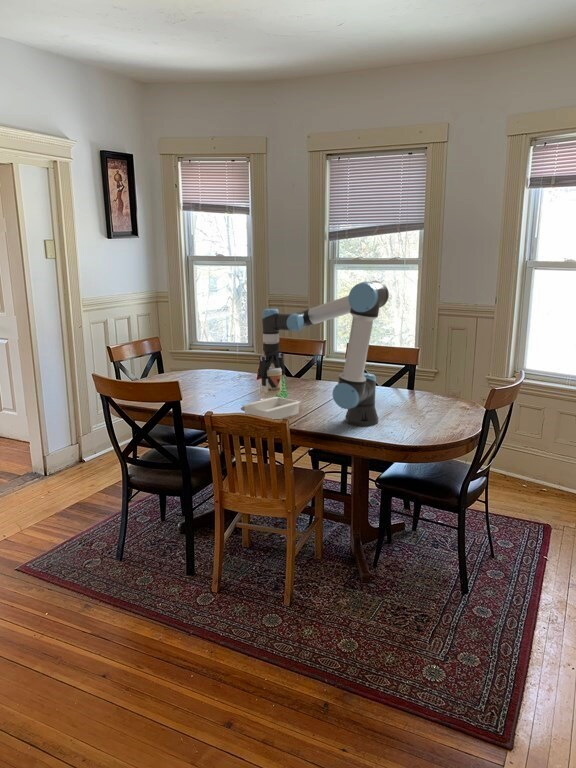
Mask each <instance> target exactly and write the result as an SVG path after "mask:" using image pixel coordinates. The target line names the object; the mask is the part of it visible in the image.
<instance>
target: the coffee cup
mask: <svg viewBox="0 0 576 768" xmlns="http://www.w3.org/2000/svg"><path fill="white" fill-rule="evenodd" d="M282 371H283V370H282V369H281V368H275V366H270V367H269V370H267V378H266V379H268V393H265V392H263V393H264V395H266V396H278V395H281V394H282V392H281V391H282V389H281V377H282V378H283V376H282Z"/></svg>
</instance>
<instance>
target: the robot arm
mask: <svg viewBox="0 0 576 768" xmlns="http://www.w3.org/2000/svg"><path fill="white" fill-rule="evenodd" d="M389 297H390V294H389V289H388V287H387V286H386V284H384V283H383V282H381V281H376V280H373V281H362V282H359V283H357V284H355V285H354V286H352V287H351V289H350V291H349V293H348V295H346V296H343V297H340V298H337V299H334V300H331V301H328V302H326V303H323V304H320V305H317V306H313V307H310V308H307V309H305V310H301V311H298V312H292V313H280V312H279V309H278V308H263V310H262V314H261V317H262V318H261V320H262V321H261V322H262V342H263V343H262V351H263V352H264V354H263V355H262V356H261V355H260V356H259V357H258V358H259V359H258V361H259V364H258V365H259V366H258V367H259V368H258V374H257V376H258V378H259V379H261V386H262V392H263V393H264V392H265V393H268V379H266V378H267V370H269V367H271V365H272V364H273V367H275V368H281V369H282V377H281V390H282V389H283V386H282V384H283V376H285V374H286V368H285V362H284V353H282V352H279V351H280V331H286V332H287V331H290V332H291V331H292V332H299V331H301V330H302V329H304V328H309V327H312V326H314V325H317V324H319V323H323V322H326V321H328V320H329V321H330V320H332V319H335V318H338V317H341V316H344V315H348V314H350V315H351V316H352V320H351V321H352V322H351V326H350V332H349V339H348V345H347V349H346V355H345V362H344V366H343V367H344V369H343V371H342V372H341V373H339V377H338V381H337V384H336V385H335V386H334V387H333V390H332V398H333V399H332V400H333V401H334V402H335V405H337V406H338V407H340V408H341V409H344V410H347V412H346V415H345V416H344V421H345V423H346V424H348V425H351V426H355V427H374V426H376V425H378V424H379V415H378V413H377V408H376V389H377V386H376V384H377V379H376V377H377V376H376V375H375V374H373V373H368V372H365V368H366V362H367V358H368V353H369V352H368V351H369V347H370V341H371V335H372V331H373V330H372V329H373V324H374V321H375V320H376V319H377V318H378V317H379V311H380V308H382V307H384V306H385V305H386V304H387V302H388V301H389Z"/></svg>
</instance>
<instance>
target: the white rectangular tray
mask: <svg viewBox="0 0 576 768" xmlns="http://www.w3.org/2000/svg"><path fill="white" fill-rule="evenodd" d="M302 403H303V402H302V401H298V400H295V399H289V398H285V397H279V396H273V397H269V398H265V399H261V400H258V401H254V402H253V401H252V402H249V403H246V404H245V403H244V404H241V406H242V407H245V411H244V414H245V413H248V414H254V415H258V416H262V417H268V418H272V419H279V420H281V419H285V418H289V417H291V416H295V415H299V414H300V410H299V409H300V408H299V404H302Z"/></svg>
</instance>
